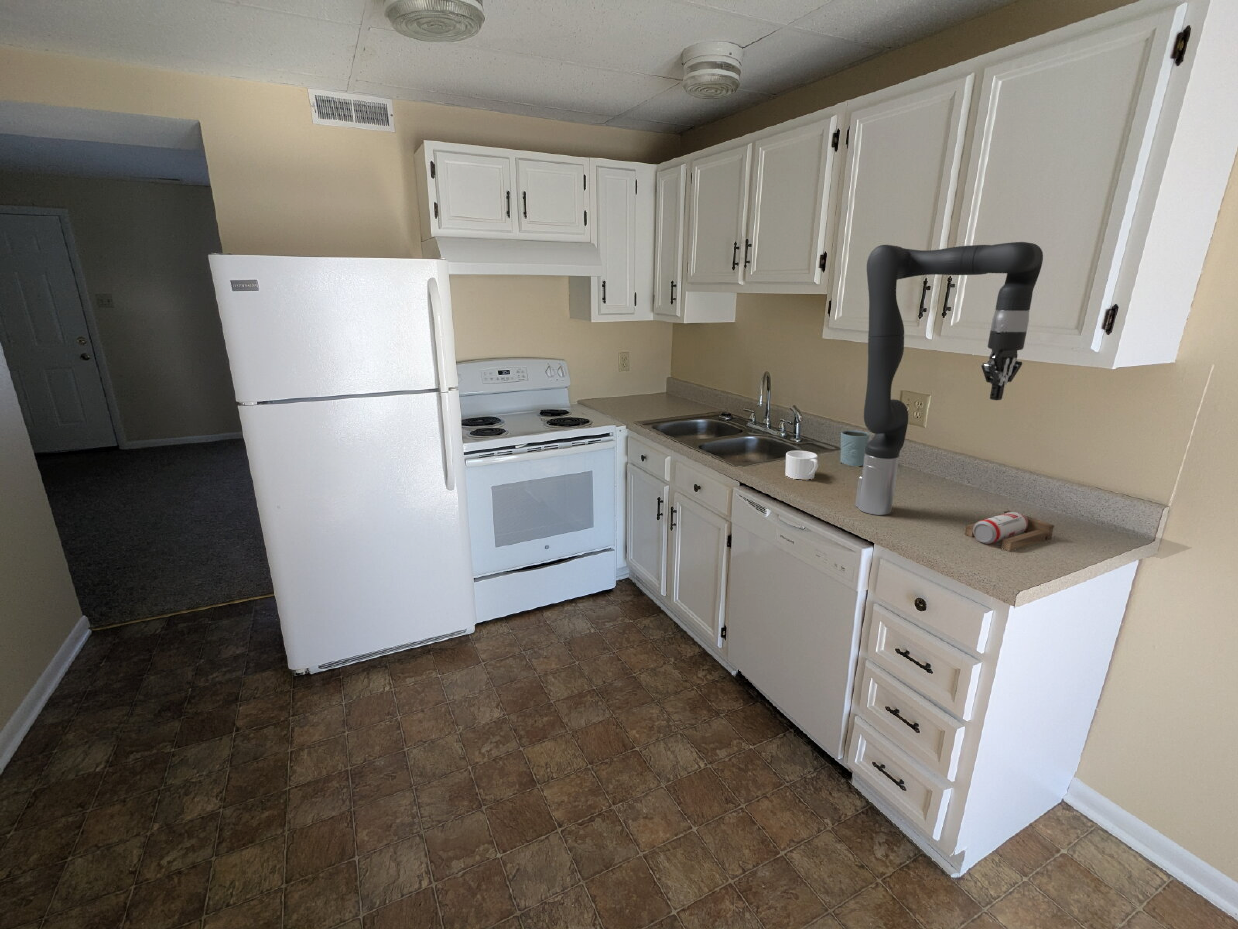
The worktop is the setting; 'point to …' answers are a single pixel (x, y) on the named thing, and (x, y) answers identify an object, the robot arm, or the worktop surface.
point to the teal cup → (853, 447)
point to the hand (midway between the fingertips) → (995, 399)
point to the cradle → (1033, 534)
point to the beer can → (1000, 527)
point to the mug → (801, 464)
